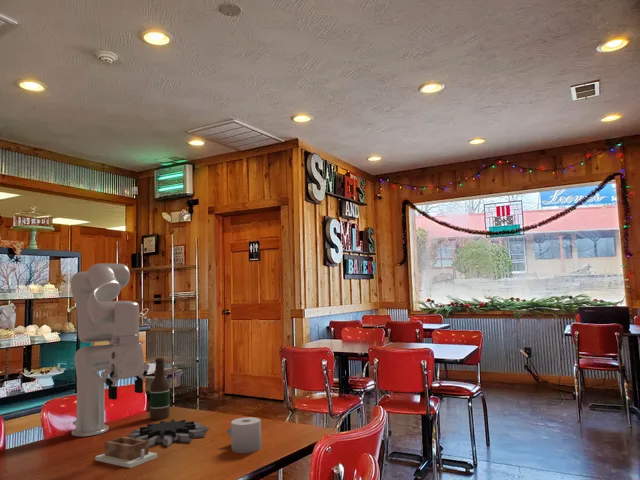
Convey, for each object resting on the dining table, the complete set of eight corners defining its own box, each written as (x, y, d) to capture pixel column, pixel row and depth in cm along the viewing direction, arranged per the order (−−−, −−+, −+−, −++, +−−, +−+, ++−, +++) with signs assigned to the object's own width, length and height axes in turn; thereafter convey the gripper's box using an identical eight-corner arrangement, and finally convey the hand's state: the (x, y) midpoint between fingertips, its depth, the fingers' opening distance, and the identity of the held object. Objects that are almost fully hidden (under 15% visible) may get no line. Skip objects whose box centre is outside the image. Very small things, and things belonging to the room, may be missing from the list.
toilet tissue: (233, 441, 167) (232, 415, 168) (266, 446, 161) (266, 418, 162) (216, 449, 159) (215, 422, 160) (250, 454, 153) (250, 425, 154)
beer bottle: (173, 415, 206) (173, 356, 208) (161, 420, 199) (161, 359, 201) (158, 414, 208) (157, 356, 211) (145, 419, 201) (145, 359, 204)
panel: (95, 460, 153) (95, 447, 153) (122, 450, 161) (123, 439, 162) (130, 468, 145) (130, 454, 145) (157, 457, 153) (157, 445, 154)
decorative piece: (151, 414, 194) (223, 415, 188) (151, 425, 194) (224, 426, 188) (103, 437, 165) (186, 439, 159) (103, 449, 164) (186, 452, 158)
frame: (104, 455, 153) (104, 441, 154) (122, 449, 159) (122, 436, 159) (130, 460, 147) (130, 446, 148) (148, 454, 153) (148, 440, 153)
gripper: (110, 344, 148) (109, 403, 147) (156, 338, 163) (156, 391, 162) (94, 343, 152) (93, 400, 151) (140, 337, 167) (140, 389, 166)
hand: (126, 395), depth 156 cm, fingers open, 9 cm apart
